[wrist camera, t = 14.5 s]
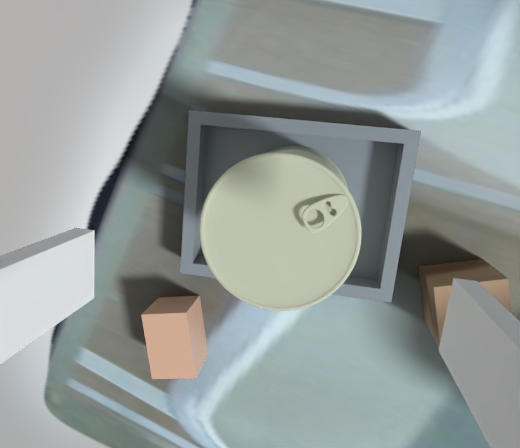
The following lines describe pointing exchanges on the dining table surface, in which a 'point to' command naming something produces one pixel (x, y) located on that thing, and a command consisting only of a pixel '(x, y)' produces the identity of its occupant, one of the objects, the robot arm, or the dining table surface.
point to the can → (281, 229)
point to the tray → (340, 153)
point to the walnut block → (440, 283)
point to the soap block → (175, 337)
